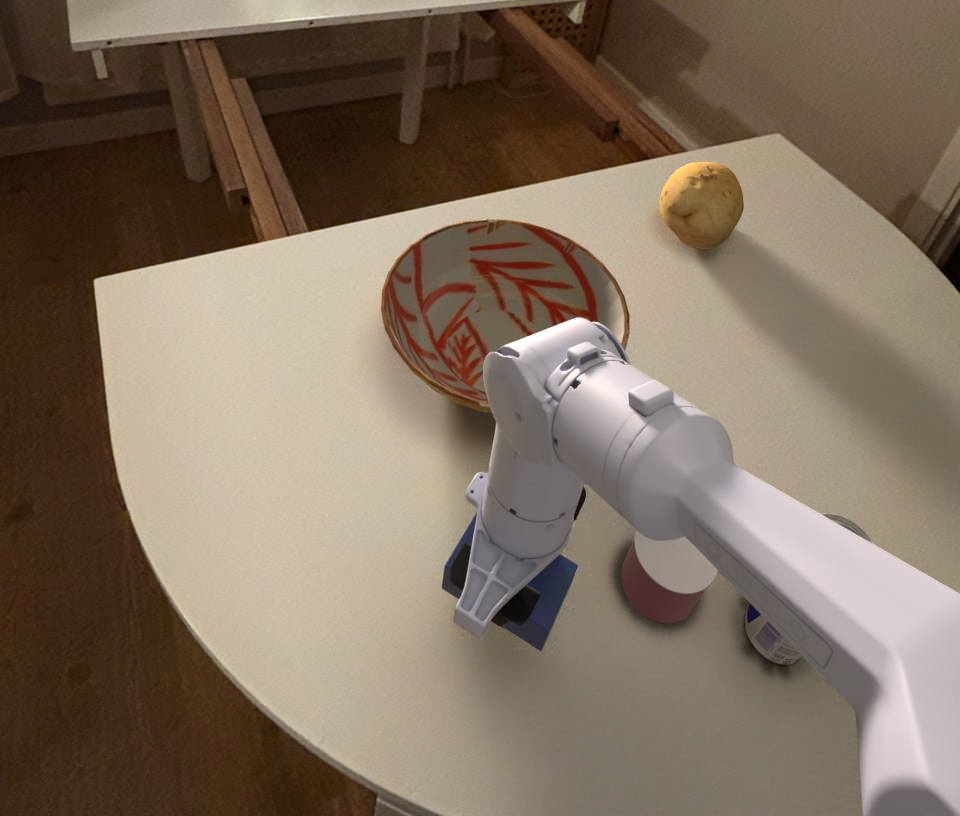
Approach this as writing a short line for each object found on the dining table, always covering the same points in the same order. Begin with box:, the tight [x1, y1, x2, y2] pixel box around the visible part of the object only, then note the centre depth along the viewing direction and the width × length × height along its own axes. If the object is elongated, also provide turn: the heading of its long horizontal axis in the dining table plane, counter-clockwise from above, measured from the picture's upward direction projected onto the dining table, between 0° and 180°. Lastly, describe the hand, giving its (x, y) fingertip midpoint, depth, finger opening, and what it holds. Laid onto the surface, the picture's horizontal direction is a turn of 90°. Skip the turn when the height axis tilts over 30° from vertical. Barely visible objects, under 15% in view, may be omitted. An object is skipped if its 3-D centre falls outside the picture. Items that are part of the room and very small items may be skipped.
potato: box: [659, 161, 745, 250], centre depth 97 cm, size 10×12×10 cm
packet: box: [441, 511, 579, 652], centre depth 54 cm, size 8×5×4 cm, turn 61°
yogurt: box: [620, 529, 719, 624], centre depth 63 cm, size 7×7×6 cm
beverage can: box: [743, 512, 876, 665], centre depth 58 cm, size 5×5×15 cm
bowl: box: [380, 218, 631, 414], centre depth 79 cm, size 25×25×8 cm
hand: (509, 577), depth 54 cm, fingers closed on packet, 5 cm apart
